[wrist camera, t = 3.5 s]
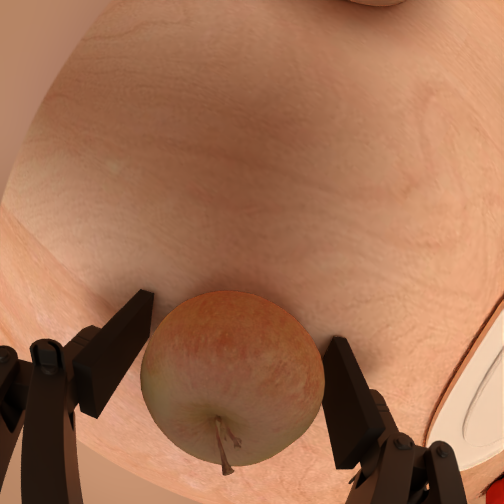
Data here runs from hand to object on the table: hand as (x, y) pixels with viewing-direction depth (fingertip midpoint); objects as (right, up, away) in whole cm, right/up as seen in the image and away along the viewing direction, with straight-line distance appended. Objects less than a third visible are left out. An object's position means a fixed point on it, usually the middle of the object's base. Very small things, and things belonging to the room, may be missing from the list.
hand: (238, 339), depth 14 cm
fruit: (0, 0, 0) cm, 0 cm away
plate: (+28, -7, +1) cm, 29 cm away
